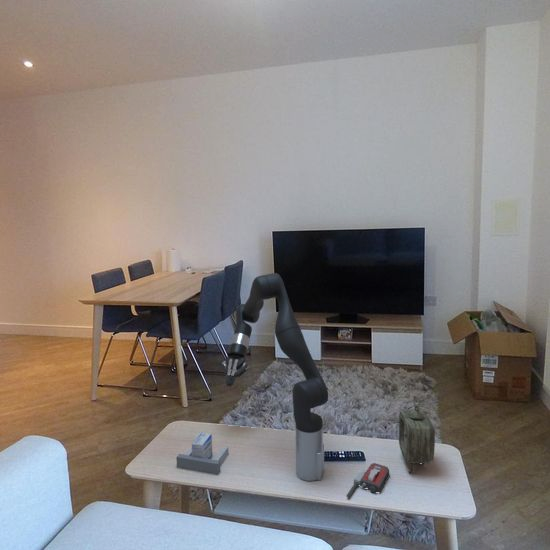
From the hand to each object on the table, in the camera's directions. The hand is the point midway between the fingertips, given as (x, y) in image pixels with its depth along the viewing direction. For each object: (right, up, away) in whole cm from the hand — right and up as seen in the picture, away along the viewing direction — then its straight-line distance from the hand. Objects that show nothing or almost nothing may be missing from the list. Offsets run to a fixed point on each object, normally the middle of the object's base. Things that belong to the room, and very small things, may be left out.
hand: (228, 385), depth 163 cm
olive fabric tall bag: (+68, -23, -17) cm, 74 cm away
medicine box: (-8, -24, -13) cm, 28 cm away
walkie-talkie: (+49, -26, -28) cm, 62 cm away
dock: (-7, -24, -13) cm, 28 cm away
